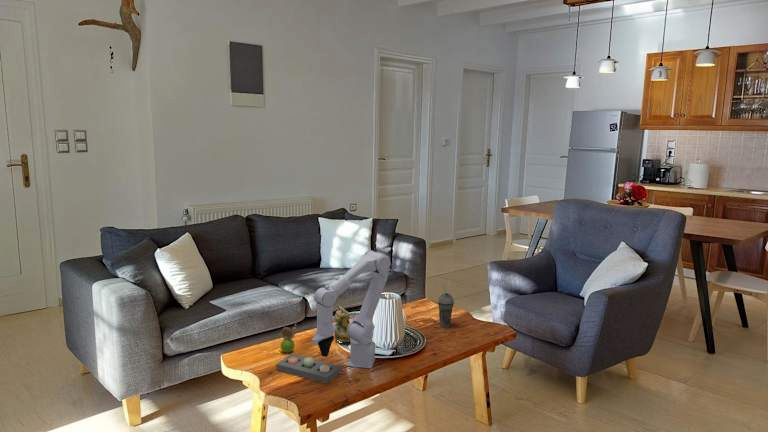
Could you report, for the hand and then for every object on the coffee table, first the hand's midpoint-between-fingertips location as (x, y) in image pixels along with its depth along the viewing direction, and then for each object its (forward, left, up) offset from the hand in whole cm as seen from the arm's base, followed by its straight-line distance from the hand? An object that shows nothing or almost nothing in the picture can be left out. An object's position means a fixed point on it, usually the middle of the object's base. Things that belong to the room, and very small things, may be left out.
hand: (324, 355), depth 198 cm
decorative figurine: (+1, -31, -8) cm, 32 cm away
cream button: (0, +1, -7) cm, 7 cm away
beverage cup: (-40, -57, -8) cm, 70 cm away
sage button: (+7, -1, -6) cm, 9 cm away
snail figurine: (+20, -15, -8) cm, 26 cm away
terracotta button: (+13, -3, -7) cm, 15 cm away
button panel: (+7, -1, -8) cm, 10 cm away
